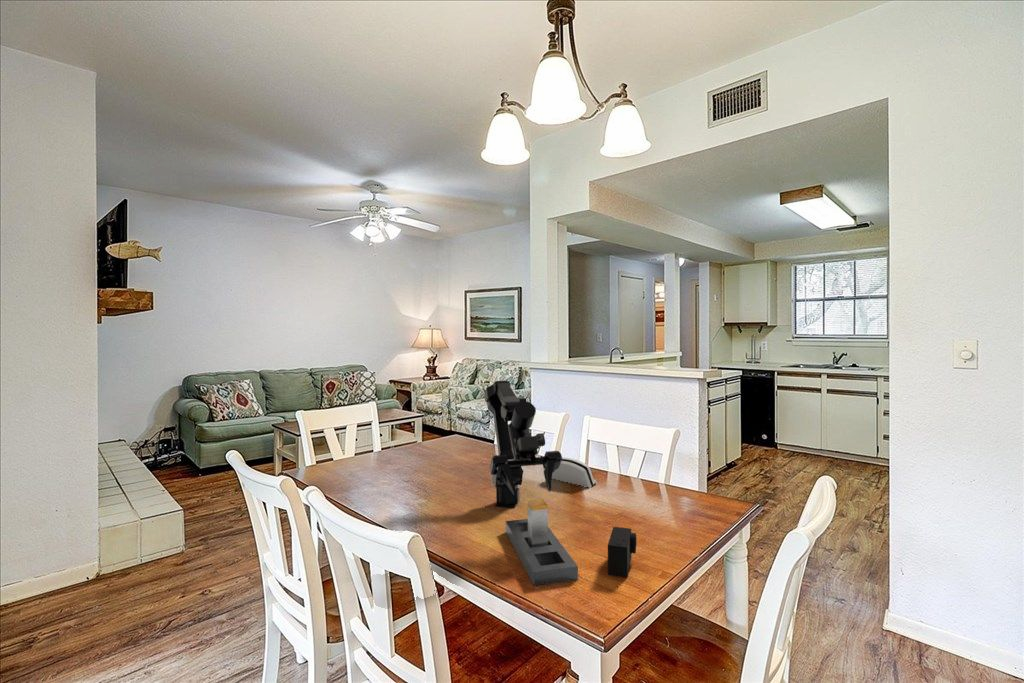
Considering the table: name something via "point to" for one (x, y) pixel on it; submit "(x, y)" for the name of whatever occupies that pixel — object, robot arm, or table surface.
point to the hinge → (574, 473)
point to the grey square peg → (537, 523)
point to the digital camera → (620, 551)
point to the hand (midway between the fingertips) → (532, 492)
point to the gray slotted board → (541, 556)
